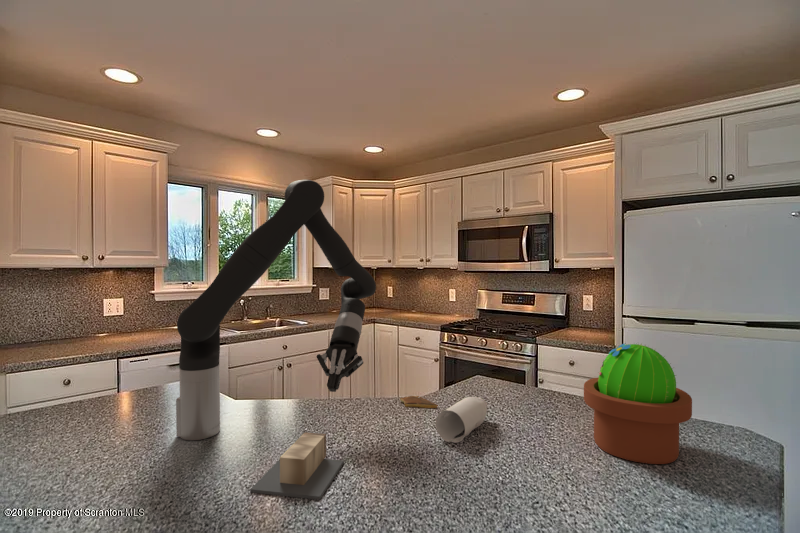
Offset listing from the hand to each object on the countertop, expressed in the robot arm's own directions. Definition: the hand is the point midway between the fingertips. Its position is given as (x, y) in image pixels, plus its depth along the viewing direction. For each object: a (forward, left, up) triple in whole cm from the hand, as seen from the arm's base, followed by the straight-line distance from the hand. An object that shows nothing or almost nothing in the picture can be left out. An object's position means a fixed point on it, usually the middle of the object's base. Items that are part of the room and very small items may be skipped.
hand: (331, 390), depth 104 cm
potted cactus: (+72, +8, -12) cm, 73 cm away
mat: (0, -19, -12) cm, 22 cm away
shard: (+18, +29, -13) cm, 36 cm away
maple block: (0, -11, -9) cm, 14 cm away
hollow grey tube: (+32, +10, -12) cm, 36 cm away
